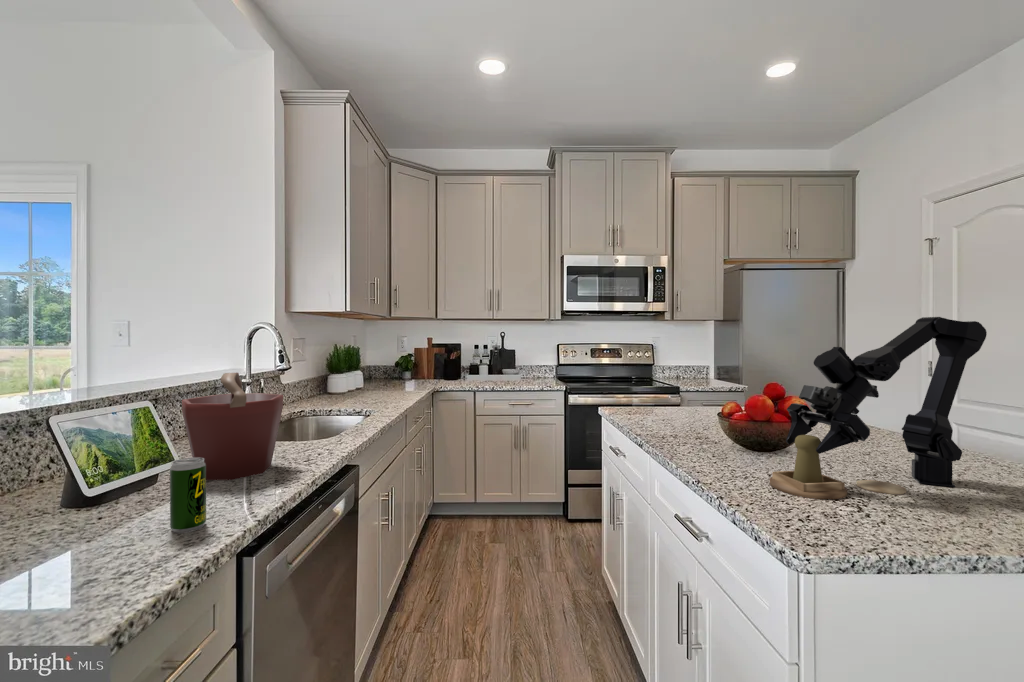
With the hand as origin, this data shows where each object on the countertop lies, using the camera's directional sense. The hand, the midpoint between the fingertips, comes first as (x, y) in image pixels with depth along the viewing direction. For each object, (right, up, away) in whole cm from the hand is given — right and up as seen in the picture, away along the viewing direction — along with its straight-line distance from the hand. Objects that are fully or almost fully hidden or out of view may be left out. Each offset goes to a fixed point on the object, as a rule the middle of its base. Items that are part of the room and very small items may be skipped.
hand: (801, 447), depth 109 cm
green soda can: (-123, -10, -23) cm, 126 cm away
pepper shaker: (+2, -9, 0) cm, 9 cm away
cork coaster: (+18, -9, +1) cm, 21 cm away
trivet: (+1, -9, 0) cm, 9 cm away
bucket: (-137, -9, +13) cm, 138 cm away
